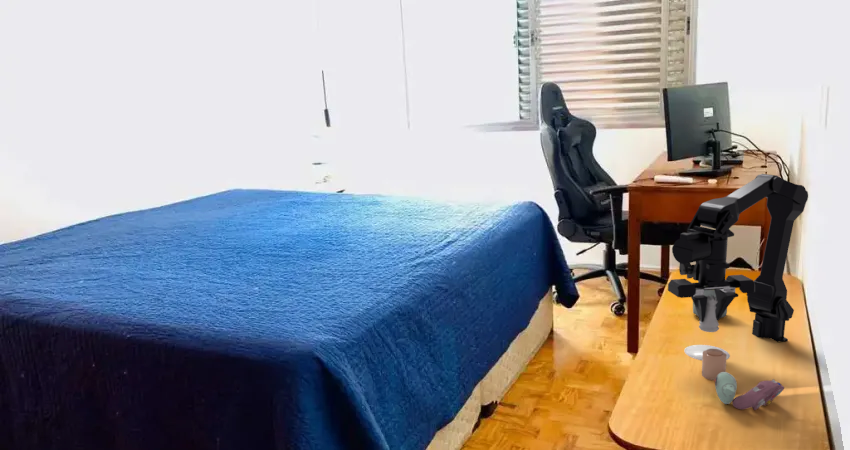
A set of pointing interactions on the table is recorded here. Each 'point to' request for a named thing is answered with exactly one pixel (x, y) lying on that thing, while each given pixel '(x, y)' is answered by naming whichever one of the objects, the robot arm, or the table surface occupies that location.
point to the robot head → (725, 387)
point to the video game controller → (758, 395)
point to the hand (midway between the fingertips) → (709, 320)
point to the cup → (713, 363)
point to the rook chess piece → (710, 316)
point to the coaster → (701, 351)
